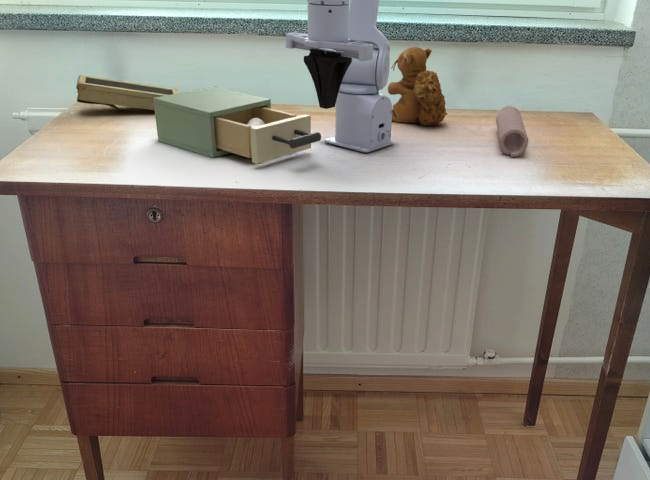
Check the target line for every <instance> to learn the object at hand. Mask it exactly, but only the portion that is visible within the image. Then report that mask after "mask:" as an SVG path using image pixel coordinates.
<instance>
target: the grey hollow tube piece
mask: <svg viewBox="0 0 650 480" xmlns="http://www.w3.org/2000/svg"><path fill="white" fill-rule="evenodd" d="M495 122H496V123H495V125H496V130H497V135H498V142H499V147H500V150H501V151H502V152H503V153H504V154H506V155H508V156H510V158H515V157H518V156H521V155H522V154H523V153H524V152H525V151H526V150H527V148H528V145H529V138H528V134H527V131H526V128H525V124H524V120H523V117H522V114H521V112H520V110H519V109H518V108H517V107H515V106H512V105H507V106H504V107H501V108H500V109H499V110H498V112H497V114H496V117H495Z"/></svg>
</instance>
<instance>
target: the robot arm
mask: <svg viewBox="0 0 650 480" xmlns="http://www.w3.org/2000/svg"><path fill="white" fill-rule="evenodd" d="M379 6H380V0H307V33H302V32H296V31H295V32H294V31H293V32H286V33H285V48H286V49H298V50H304V51H308V52H309V53H308V55H303V63H304V64H305V66H306V68H307V70H308V73H309V74H310V77H311V79H312V82H313V86H314V89H315V92H316V93H315V94H316V97H317V101H318V105H319V108H321V109H325V110H328V109H332V108H335V122H334V123H335V124H334V125H335V127H334V128H335V129H334V131H335V132H334V133H335V134H334V136H332V137H328V138H325V139H324V143H327V144H331V145H334V146H338V147H341V148H346V149H350V150H354V151H357V152H361V153H365V154H367V153H370V152H374V151H376V150H379V149H382V148H386V147H388V146H391V145H394V141H393V140H391V139H392V123H393V121H392V110H393V104H392V101H391V99H390V97H388V96H386V95H384V94H382V93H381V92H380V91H381V90H383V89H384V88H385V87H386V86H387V84H388V81H389V77H390V76H389V75H390V67H391V65H390V64H391V58H390V54H391V44H390V43H389V40H388V38H387V37H386V36H385V35H384V34H383V32H382V31H380V30H379V29H378V28H377V21H378V16H379V15H378V14H379Z"/></svg>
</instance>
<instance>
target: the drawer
mask: <svg viewBox="0 0 650 480" xmlns="http://www.w3.org/2000/svg"><path fill="white" fill-rule="evenodd" d="M252 118H259V119H261V120H262V121H263V122H264V123H265V124H264V125H260V126H256V127H252V128H251V126H249V125H247V124H248V122H249V121H250V120H251V119H252ZM311 118H312V116H311V114H306V113H305V114H301V115H297V114H295V113H290V112H287V111H282V110H278V109H274V108H271V109H270V108H266V107H262V106H260V107H256V108H251V109H247V110H242V111H238V112H233V113H229V114H224V115H220V116H215V117H214V128H215V141H216V148H218V149H221V150H225V151H228V152H231V153H232V154H235V155H238V156H242V157H244V158H245V157H246V158H248V159H250V158H251V163H253V164H255V165H259V164H263V163H266V162H270V161H272V160H276V159H279V158H283V157H286V156H289V155H294V154H296V153H298V152H303V151H306V150H310V149H311V148H312V144H314V143H318V142H320V141H321V140H322V135H321V133H320V132H319V131H315V132H311V131H312V129H311V128H312V125H311V123H312V119H311ZM231 153H230V154H231Z"/></svg>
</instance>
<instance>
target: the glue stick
mask: <svg viewBox="0 0 650 480" xmlns="http://www.w3.org/2000/svg"><path fill="white" fill-rule="evenodd" d="M264 124H265V123H264V122H263V121H262V120H261V119H259V118H252V119H251V120H250V121H249V122H248V124H247V125H249V126H251V128H252V127H256V126H260V125H264Z"/></svg>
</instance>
